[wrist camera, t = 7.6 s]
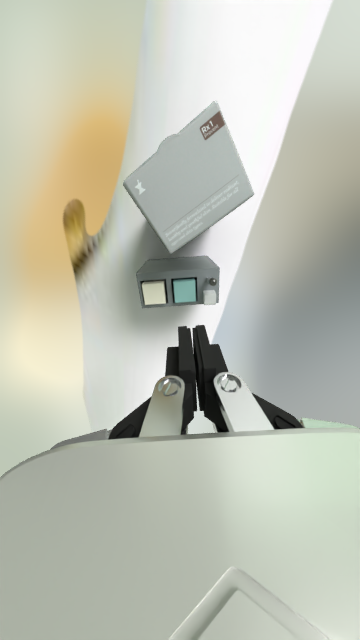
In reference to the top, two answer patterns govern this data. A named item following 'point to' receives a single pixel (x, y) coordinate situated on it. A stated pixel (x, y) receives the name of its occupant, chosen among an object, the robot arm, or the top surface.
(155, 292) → the cream button
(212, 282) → the metal lever
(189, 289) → the teal button
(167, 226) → the skincare box
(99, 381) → the top surface
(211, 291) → the grey button
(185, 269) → the panel
